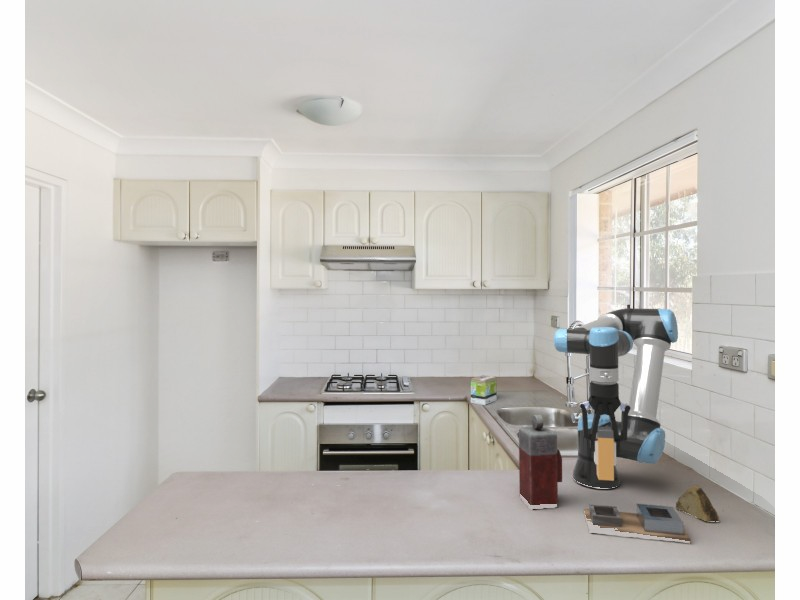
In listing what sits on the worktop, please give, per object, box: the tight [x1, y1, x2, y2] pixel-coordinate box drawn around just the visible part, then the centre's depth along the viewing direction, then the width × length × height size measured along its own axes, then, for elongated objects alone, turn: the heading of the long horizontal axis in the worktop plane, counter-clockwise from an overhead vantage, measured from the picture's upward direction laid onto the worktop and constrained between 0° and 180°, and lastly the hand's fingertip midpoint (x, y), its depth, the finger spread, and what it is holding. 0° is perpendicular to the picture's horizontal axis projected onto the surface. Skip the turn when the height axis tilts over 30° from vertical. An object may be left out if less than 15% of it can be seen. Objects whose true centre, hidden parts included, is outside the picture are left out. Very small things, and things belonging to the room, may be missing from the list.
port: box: [636, 503, 684, 536], centre depth 133 cm, size 9×9×4 cm
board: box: [583, 503, 691, 542], centre depth 134 cm, size 12×25×4 cm, turn 76°
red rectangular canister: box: [518, 414, 563, 505], centre depth 151 cm, size 9×11×28 cm
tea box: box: [470, 374, 498, 406], centre depth 283 cm, size 15×10×15 cm
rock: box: [675, 485, 721, 522], centre depth 141 cm, size 11×9×10 cm
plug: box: [596, 427, 614, 481], centre depth 136 cm, size 4×4×14 cm
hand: (604, 462), depth 136 cm, fingers closed on plug, 4 cm apart
